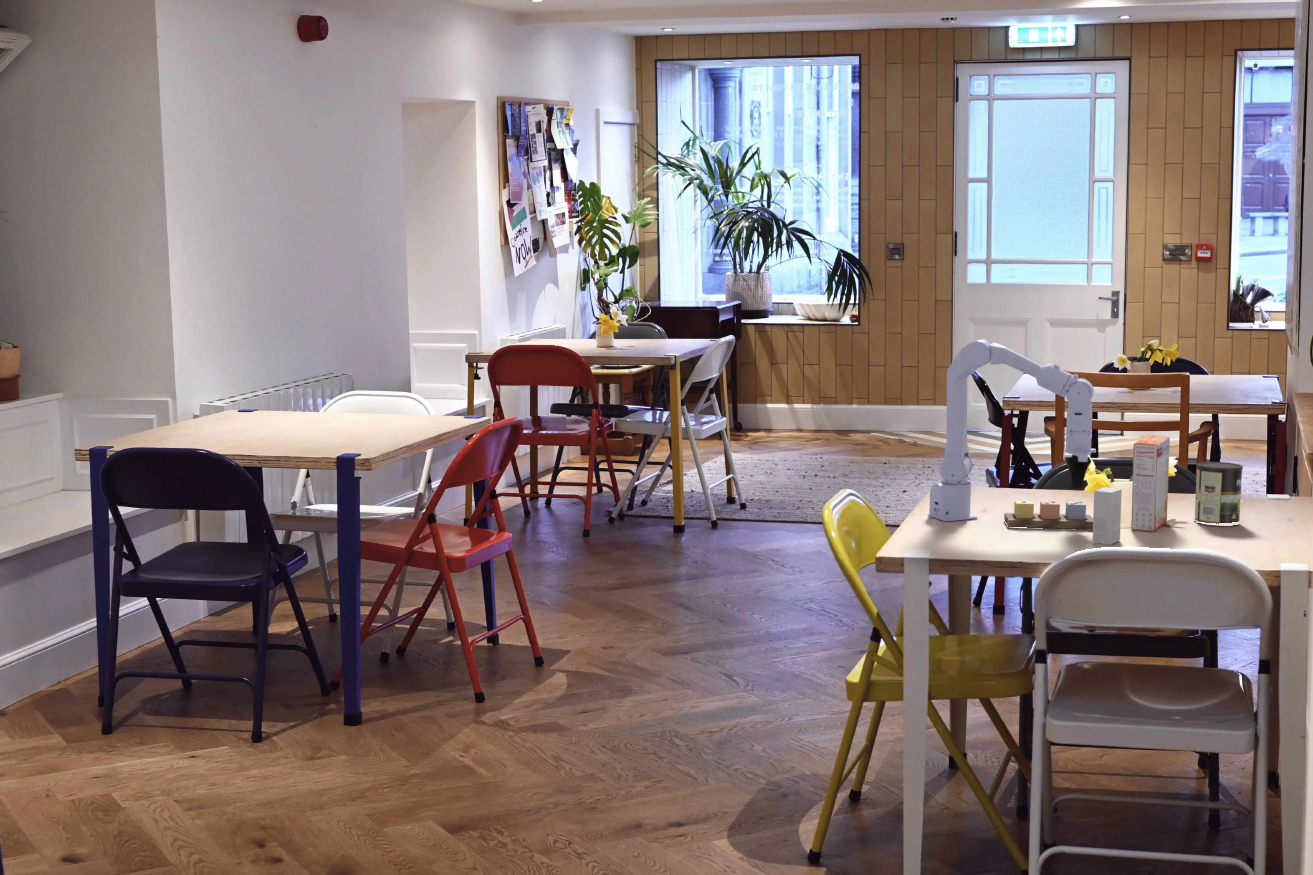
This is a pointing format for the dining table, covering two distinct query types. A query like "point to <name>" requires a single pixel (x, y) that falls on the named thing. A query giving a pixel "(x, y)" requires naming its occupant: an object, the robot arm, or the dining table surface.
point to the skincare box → (1107, 515)
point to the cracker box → (1150, 483)
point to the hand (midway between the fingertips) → (1076, 487)
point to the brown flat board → (1049, 522)
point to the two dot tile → (1049, 509)
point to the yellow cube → (1023, 509)
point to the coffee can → (1218, 492)
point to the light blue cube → (1076, 510)
